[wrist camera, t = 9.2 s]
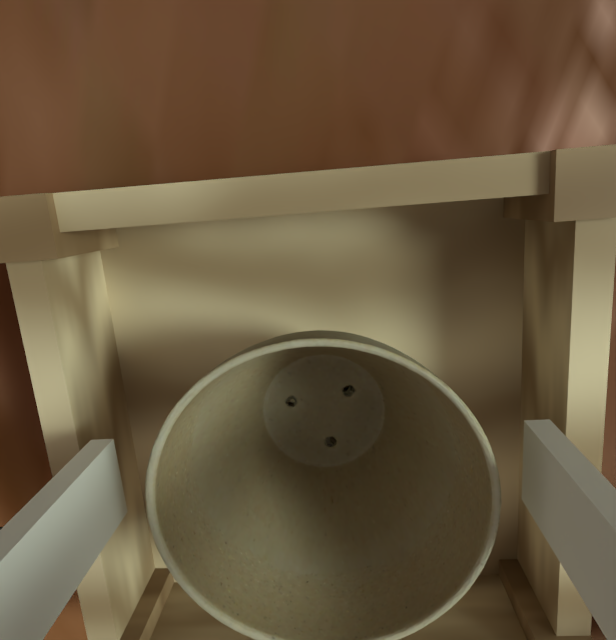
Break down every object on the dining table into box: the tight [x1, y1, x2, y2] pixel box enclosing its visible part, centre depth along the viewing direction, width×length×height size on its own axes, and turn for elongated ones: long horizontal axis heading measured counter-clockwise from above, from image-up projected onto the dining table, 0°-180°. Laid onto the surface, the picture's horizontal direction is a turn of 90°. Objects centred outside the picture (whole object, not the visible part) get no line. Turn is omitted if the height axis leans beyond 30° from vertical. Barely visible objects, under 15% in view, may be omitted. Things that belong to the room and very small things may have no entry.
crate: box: [0, 145, 616, 640], centre depth 19 cm, size 19×19×5 cm
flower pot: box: [145, 330, 501, 640], centre depth 17 cm, size 10×10×7 cm
